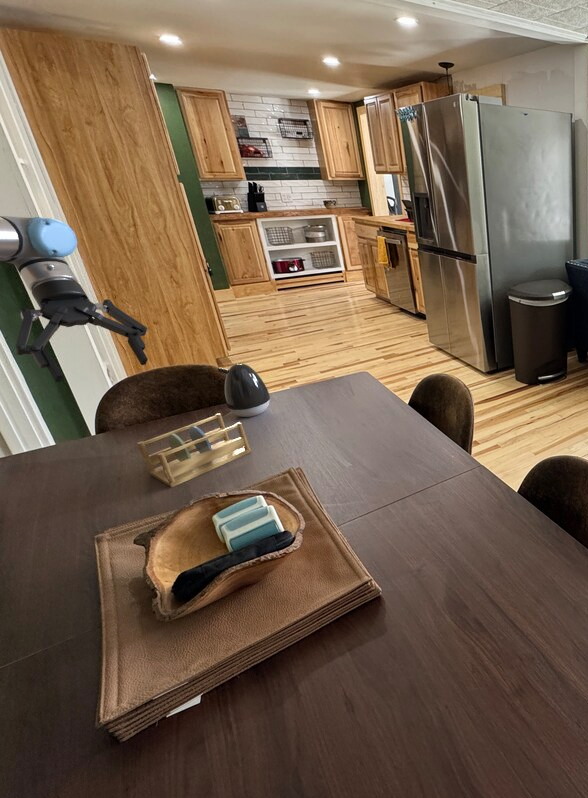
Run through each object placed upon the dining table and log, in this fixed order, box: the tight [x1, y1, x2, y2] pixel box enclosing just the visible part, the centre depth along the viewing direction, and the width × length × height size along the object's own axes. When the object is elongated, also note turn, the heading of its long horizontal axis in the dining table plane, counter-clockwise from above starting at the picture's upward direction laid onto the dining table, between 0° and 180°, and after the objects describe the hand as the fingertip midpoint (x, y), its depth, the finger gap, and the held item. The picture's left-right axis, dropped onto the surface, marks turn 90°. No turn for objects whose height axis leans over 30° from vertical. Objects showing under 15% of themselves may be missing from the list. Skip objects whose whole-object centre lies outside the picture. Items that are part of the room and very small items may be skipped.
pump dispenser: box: [216, 363, 271, 418], centre depth 134 cm, size 10×10×15 cm
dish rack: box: [136, 412, 252, 488], centre depth 109 cm, size 16×10×9 cm, turn 152°
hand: (104, 370), depth 102 cm, fingers open, 13 cm apart
